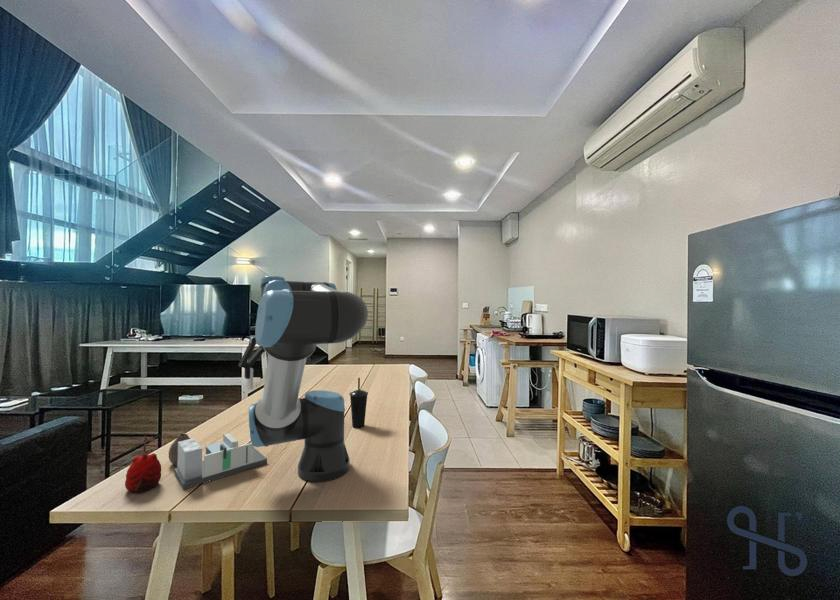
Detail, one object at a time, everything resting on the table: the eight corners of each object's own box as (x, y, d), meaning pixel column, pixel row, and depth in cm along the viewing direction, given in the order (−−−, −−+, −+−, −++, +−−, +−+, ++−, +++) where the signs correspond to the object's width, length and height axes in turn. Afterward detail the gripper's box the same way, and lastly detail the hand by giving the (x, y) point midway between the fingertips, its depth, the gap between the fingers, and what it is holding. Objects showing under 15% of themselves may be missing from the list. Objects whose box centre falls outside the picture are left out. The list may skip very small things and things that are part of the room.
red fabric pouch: (161, 478, 97) (162, 425, 97) (160, 489, 91) (162, 433, 91) (126, 487, 92) (127, 431, 92) (123, 498, 86) (124, 439, 87)
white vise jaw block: (201, 476, 95) (202, 448, 95) (184, 482, 92) (185, 452, 92) (193, 464, 102) (194, 438, 102) (177, 469, 99) (177, 441, 99)
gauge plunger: (240, 467, 100) (240, 443, 100) (215, 475, 95) (215, 450, 95) (228, 454, 108) (228, 432, 108) (204, 461, 103) (205, 438, 104)
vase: (190, 466, 104) (191, 437, 104) (164, 469, 102) (164, 440, 102) (198, 456, 111) (198, 429, 111) (173, 459, 109) (174, 431, 109)
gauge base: (267, 463, 106) (267, 439, 106) (183, 489, 91) (183, 461, 91) (253, 451, 115) (253, 429, 115) (174, 473, 99) (175, 448, 99)
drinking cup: (370, 427, 139) (371, 378, 140) (353, 430, 135) (354, 380, 135) (363, 421, 146) (363, 375, 146) (346, 425, 141) (346, 377, 142)
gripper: (302, 320, 126) (301, 378, 125) (228, 322, 108) (226, 389, 107) (312, 321, 120) (311, 381, 120) (236, 323, 103) (234, 393, 102)
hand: (271, 385), depth 114 cm, fingers open, 13 cm apart
